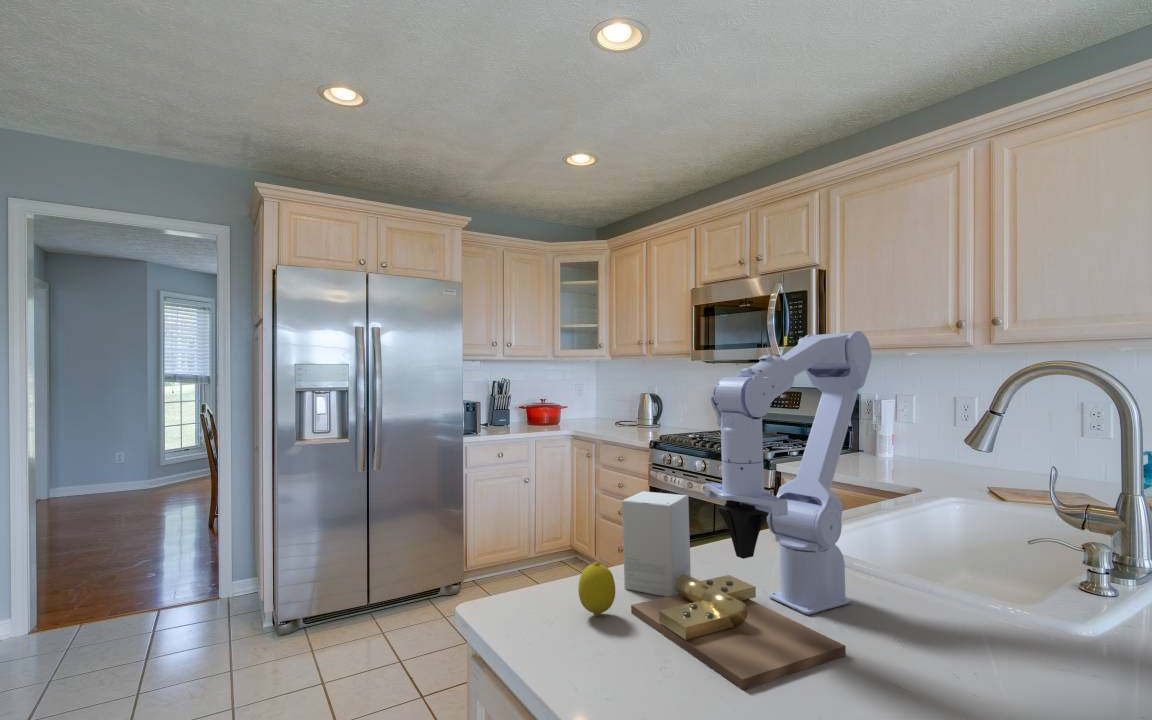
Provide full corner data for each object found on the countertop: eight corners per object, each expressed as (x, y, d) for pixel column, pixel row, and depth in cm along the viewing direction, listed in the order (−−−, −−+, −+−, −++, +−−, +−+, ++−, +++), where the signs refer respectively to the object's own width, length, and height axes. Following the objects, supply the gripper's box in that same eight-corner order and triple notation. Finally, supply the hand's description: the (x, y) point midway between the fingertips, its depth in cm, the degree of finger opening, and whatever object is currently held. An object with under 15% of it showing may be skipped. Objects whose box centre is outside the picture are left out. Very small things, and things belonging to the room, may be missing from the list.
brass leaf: (719, 607, 85) (718, 585, 85) (748, 622, 79) (747, 599, 80) (659, 622, 80) (658, 599, 80) (685, 639, 75) (685, 614, 75)
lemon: (613, 625, 83) (612, 569, 83) (575, 622, 84) (574, 567, 84) (618, 609, 88) (617, 557, 88) (582, 607, 89) (581, 555, 89)
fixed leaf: (723, 582, 95) (723, 562, 95) (755, 597, 88) (755, 576, 88) (670, 593, 90) (670, 573, 90) (700, 611, 84) (700, 588, 84)
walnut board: (719, 592, 94) (719, 584, 94) (845, 655, 73) (845, 645, 73) (631, 612, 87) (631, 604, 87) (742, 690, 65) (742, 679, 65)
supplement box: (692, 581, 100) (690, 494, 100) (673, 599, 92) (671, 505, 92) (644, 572, 104) (642, 489, 105) (622, 589, 96) (620, 499, 97)
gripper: (688, 456, 87) (690, 547, 87) (758, 470, 74) (761, 577, 74) (724, 452, 90) (726, 540, 90) (797, 465, 77) (800, 567, 77)
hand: (744, 556), depth 82 cm, fingers closed
